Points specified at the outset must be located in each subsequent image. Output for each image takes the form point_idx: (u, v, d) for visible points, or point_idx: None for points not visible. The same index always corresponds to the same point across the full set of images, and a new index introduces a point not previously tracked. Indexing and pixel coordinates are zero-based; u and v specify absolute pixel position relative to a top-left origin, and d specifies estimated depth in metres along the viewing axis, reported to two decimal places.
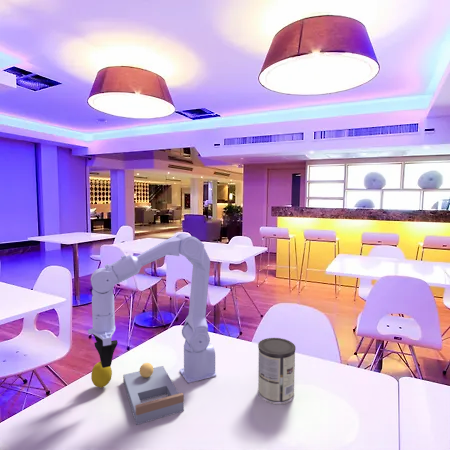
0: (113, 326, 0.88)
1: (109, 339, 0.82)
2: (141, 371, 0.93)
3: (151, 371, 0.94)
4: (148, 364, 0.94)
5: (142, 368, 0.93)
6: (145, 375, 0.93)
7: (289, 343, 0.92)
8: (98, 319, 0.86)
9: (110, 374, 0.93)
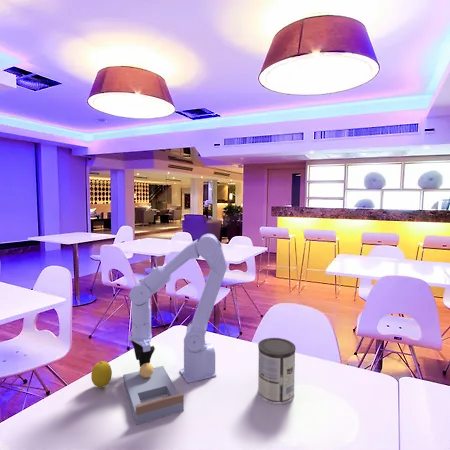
0: (150, 334, 0.99)
1: (148, 346, 0.93)
2: (141, 371, 0.93)
3: (151, 371, 0.94)
4: (148, 364, 0.94)
5: (142, 368, 0.93)
6: (145, 375, 0.93)
7: (289, 343, 0.92)
8: (138, 328, 0.96)
9: (110, 374, 0.93)
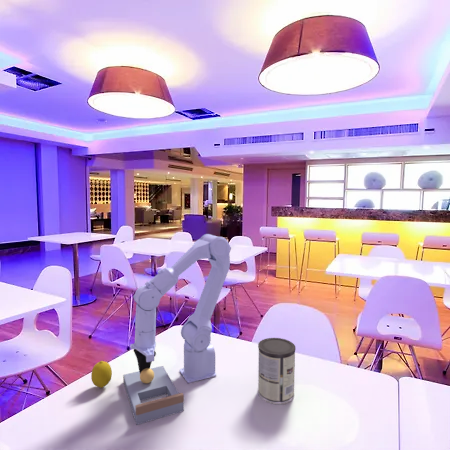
0: (154, 342, 0.92)
1: (152, 356, 0.86)
2: None
3: None
4: (149, 379, 0.90)
5: (142, 381, 0.90)
6: None
7: (289, 343, 0.92)
8: (141, 335, 0.89)
9: (110, 374, 0.93)
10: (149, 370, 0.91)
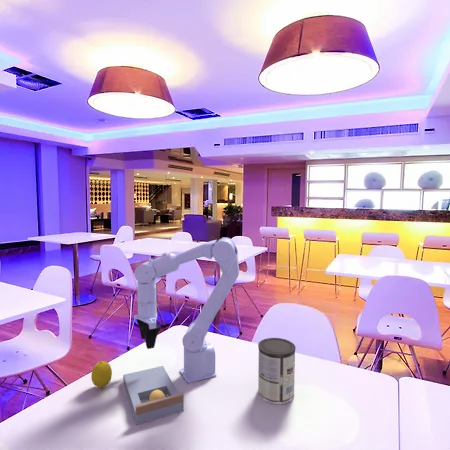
0: (155, 313, 1.00)
1: (154, 323, 0.94)
2: None
3: (161, 394, 0.85)
4: (154, 390, 0.86)
5: (150, 397, 0.84)
6: None
7: (289, 343, 0.92)
8: (143, 306, 0.97)
9: (110, 374, 0.93)
10: None
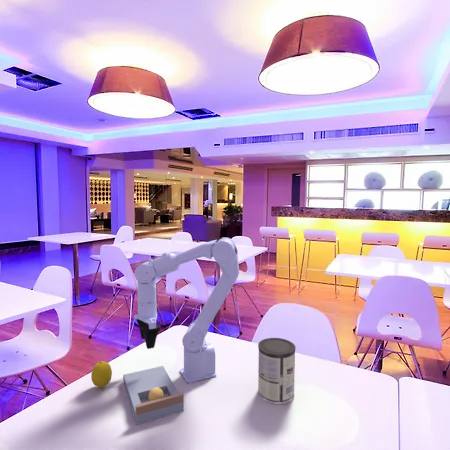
0: (155, 313, 1.00)
1: (154, 323, 0.94)
2: (150, 395, 0.85)
3: (159, 388, 0.87)
4: None
5: (149, 393, 0.86)
6: (156, 394, 0.85)
7: (289, 343, 0.92)
8: (143, 306, 0.98)
9: (110, 374, 0.93)
10: None
